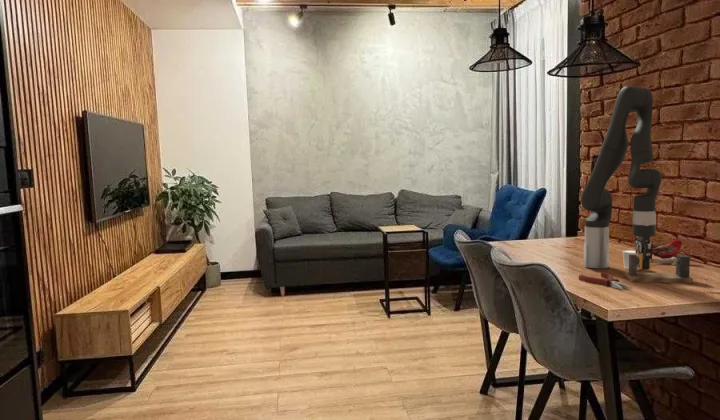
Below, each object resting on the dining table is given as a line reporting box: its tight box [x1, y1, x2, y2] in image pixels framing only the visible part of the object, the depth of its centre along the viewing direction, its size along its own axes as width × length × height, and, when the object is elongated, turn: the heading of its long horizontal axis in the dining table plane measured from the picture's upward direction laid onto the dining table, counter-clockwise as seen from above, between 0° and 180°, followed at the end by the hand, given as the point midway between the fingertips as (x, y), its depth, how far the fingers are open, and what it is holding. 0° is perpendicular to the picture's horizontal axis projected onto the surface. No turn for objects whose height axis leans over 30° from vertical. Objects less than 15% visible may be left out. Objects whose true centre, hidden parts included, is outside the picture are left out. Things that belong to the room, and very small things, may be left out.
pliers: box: [578, 271, 632, 291], centre depth 178 cm, size 12×20×3 cm, turn 9°
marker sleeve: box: [636, 253, 652, 270], centre depth 182 cm, size 4×5×5 cm
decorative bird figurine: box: [652, 238, 685, 259], centre depth 208 cm, size 3×18×10 cm, turn 83°
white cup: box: [622, 249, 641, 270], centre depth 200 cm, size 7×7×7 cm
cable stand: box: [625, 254, 694, 284], centre depth 181 cm, size 20×8×9 cm, turn 75°
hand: (643, 267), depth 182 cm, fingers closed on marker sleeve, 5 cm apart
